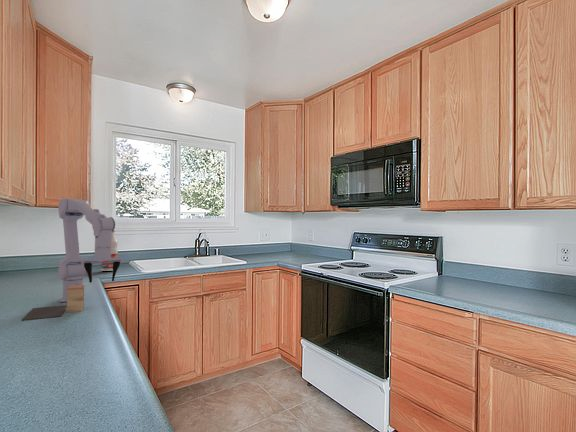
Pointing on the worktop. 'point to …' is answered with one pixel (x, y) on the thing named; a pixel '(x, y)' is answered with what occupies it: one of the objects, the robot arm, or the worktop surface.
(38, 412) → the worktop surface
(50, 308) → the rubber mat
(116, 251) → the fruit juice
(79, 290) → the maple block
